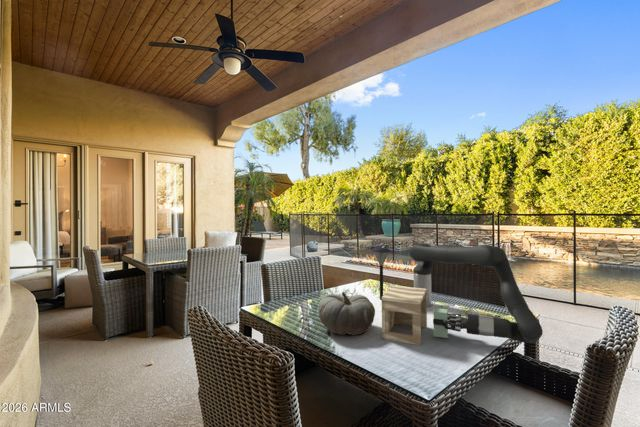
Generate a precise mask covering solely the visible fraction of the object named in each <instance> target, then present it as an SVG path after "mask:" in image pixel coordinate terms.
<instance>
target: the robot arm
mask: <svg viewBox="0 0 640 427" xmlns="http://www.w3.org/2000/svg"><path fill="white" fill-rule="evenodd" d="M408 252H409V256H410V258H411V260H413V261H416V262H419V263H418V264H417V265H416V266H414V267H413V288H423V289H427V308H428V307H431V306H432V270H433V265H434V263H435V262H436V263H440V264H447V265H448V264H449V265H461V264H470V265H471V264H472V265H475V266H476V265H477V266H481V267H485V268H492V269H493V270H494V271H495V273H496V275H497V277H498V279H499V284H500V285H499V286H500V295H501V298H502V301H503V303H504V305H505V307H506V309H507V311H508V312H509V314H510V315H511V317H513V318H514V320H515V322H514V321H510V320H509V319H507V318H502V317H494V316H489V315H482V314H473V313H467V314H466V317H463V316H462V314H460V313H448V320H441V319H434V318H433V319H432V324H433V326H434V325H441V326H443V327H445V329H448V330H450V331H454V332H460V333H461V332H462V331H461V330H462V329H463V330H466V333H467V334H468V335H475V336H483V337H495V338H496V337H497V338H504V339H510V340H513V341H517V342H521V343H525V344H526V343H527V344H533V343H534V344H535V343H537V342H538V341H539V340H540V339H541V337H542V336H543V331H544V330H543V328H542V327H543V326H542V325H541V323H540V321H539V320H538V318H537V317H536V316H535V314H534V313H533V312H532V310H530V309H531V308H530V307H529V305H528V304H527V300H526V299H525V298H524V295H523V294H522V292H521V289H520V288H519V285H518V284H517V281H516V278H515V276H514V273H513V270H512V267H511V265H510V261H509V259H508V256H507V254H506V252H505V250H504V249H503V248H501V247H499V246H495V245H489V244H488V245H487V244H483V245H482V244H481V245H476V246H464V245H458V244H439V245H430V244H429V243H418V244H417V243H416V244H413V246H411V247H410V249H409V251H408Z"/></svg>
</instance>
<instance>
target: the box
mask: <svg viewBox="0 0 640 427" xmlns="http://www.w3.org/2000/svg"><path fill="white" fill-rule="evenodd" d="M427 308H428V307H427V289H423V288H414V286H413V287H410V286H399V285H392V286H391V287H390V288H389V289H388V290H387V291H386V292H385V293H383V296H382V300H381V339H382V340H385V341H386V340H388V341H391V342H392V341H394V342H397V343H398V342H399V343H404V344H405V343H406V344H412V345H417V346H421V345H422V328H426V329H427V328H428V315H427V313H428V310H427ZM395 324H396V325H402V326H403V325H405V326H410V327H411V326H412V334H408V333H401V332H394V331H391V330H392V329H393V328H394V326H395Z"/></svg>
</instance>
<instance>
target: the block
mask: <svg viewBox="0 0 640 427" xmlns="http://www.w3.org/2000/svg"><path fill="white" fill-rule="evenodd" d="M448 311H449V310H448V309H447V308H439V307H434V310H433V319H441V320H448V314H449V312H448ZM448 335H449V329H445V327H443V326H441V325H434V324H433V337H437V338H444V339H447V338H448Z"/></svg>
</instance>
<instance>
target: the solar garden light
mask: <svg viewBox="0 0 640 427" xmlns="http://www.w3.org/2000/svg"><path fill="white" fill-rule="evenodd" d="M371 252H372V253H374V256H375V258H376V260H377V263H378V265H379V300H381V301H382V296H383V295H384V264H385V261H386V259H387V257H388V255H389V253H391V252H392V250H391V249H390V248H387V247H381V246H377V247H375V248H373V249H371V250H370V253H371Z"/></svg>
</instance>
